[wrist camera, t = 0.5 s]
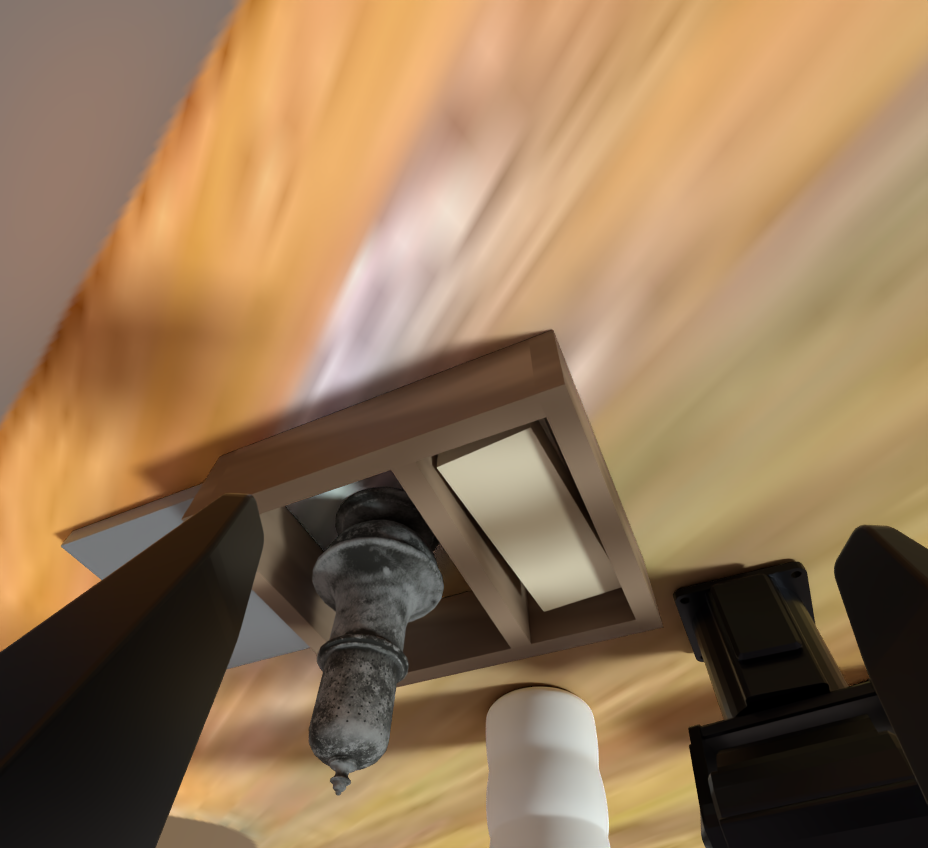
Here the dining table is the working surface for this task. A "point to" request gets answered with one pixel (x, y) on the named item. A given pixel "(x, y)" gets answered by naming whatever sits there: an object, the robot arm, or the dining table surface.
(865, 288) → the dining table surface
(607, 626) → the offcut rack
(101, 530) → the slate pad
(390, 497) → the grey turned upright piece
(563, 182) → the dining table surface
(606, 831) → the white bottle
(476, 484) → the offcut slab upper
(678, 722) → the dining table surface
